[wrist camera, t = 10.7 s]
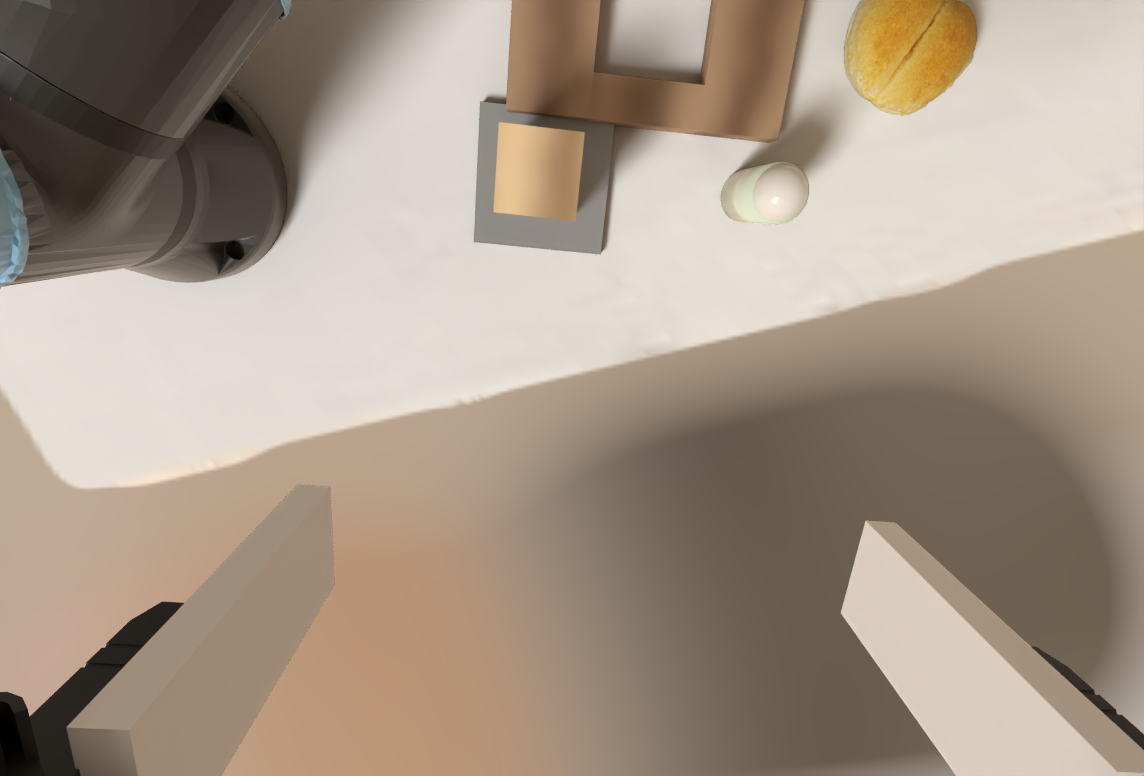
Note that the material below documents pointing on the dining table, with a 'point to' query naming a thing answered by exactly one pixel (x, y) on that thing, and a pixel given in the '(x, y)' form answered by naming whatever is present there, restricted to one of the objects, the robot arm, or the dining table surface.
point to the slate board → (537, 229)
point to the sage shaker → (765, 194)
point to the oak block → (538, 171)
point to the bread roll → (907, 50)
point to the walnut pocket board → (711, 108)
